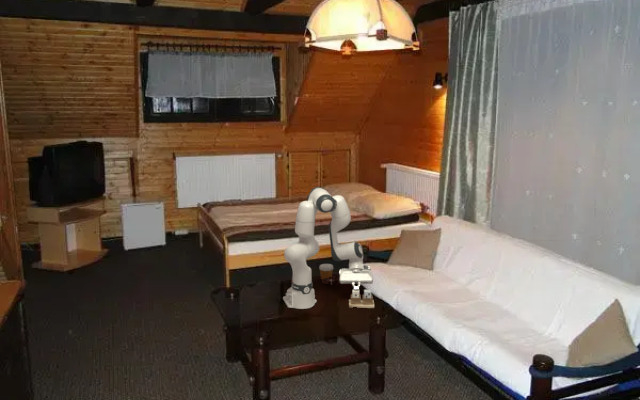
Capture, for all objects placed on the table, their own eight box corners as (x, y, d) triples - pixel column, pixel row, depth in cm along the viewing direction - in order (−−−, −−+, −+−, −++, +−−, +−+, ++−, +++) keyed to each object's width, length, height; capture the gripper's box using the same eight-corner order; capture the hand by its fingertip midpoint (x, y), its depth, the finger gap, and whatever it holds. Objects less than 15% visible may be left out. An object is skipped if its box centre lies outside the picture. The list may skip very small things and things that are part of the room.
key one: (352, 301, 321) (352, 289, 319) (359, 301, 321) (359, 289, 319) (352, 303, 317) (352, 292, 315) (359, 304, 316) (359, 292, 315)
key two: (363, 301, 320) (364, 289, 319) (370, 301, 320) (370, 289, 319) (364, 304, 316) (364, 292, 315) (370, 304, 316) (371, 292, 315)
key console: (349, 301, 324) (349, 293, 322) (373, 301, 323) (373, 293, 322) (349, 307, 315) (349, 299, 314) (374, 307, 314) (374, 299, 313)
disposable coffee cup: (320, 280, 360) (320, 263, 357) (334, 280, 359) (334, 263, 356) (318, 285, 351) (318, 267, 348) (332, 285, 349) (332, 268, 347)
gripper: (339, 266, 323) (338, 287, 315) (372, 266, 321) (373, 287, 314) (339, 270, 328) (338, 291, 320) (372, 271, 327) (373, 292, 319)
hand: (356, 289), depth 317 cm, fingers closed, pressing on key one
